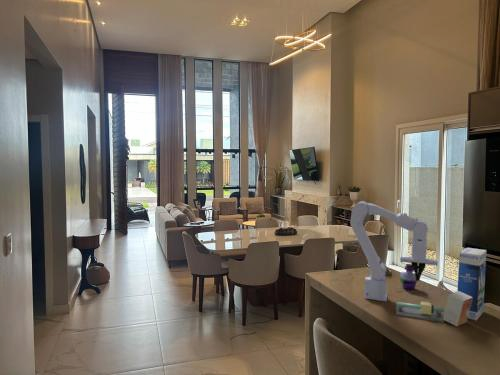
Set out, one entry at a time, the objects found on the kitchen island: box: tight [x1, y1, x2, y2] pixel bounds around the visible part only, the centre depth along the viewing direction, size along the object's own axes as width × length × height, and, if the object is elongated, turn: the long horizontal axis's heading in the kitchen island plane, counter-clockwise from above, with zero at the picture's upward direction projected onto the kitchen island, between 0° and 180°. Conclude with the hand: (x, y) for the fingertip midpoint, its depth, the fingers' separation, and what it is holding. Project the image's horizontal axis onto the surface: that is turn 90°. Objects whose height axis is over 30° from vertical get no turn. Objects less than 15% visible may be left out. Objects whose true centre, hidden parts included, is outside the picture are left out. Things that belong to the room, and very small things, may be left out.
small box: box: [443, 291, 473, 328], centre depth 138 cm, size 8×6×10 cm
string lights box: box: [456, 247, 487, 321], centre depth 147 cm, size 13×8×26 cm, turn 137°
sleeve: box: [419, 301, 432, 315], centre depth 144 cm, size 4×4×4 cm
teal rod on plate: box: [395, 301, 446, 323], centre depth 145 cm, size 17×8×5 cm, turn 69°
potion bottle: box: [399, 263, 418, 291], centre depth 176 cm, size 9×9×12 cm
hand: (417, 280), depth 157 cm, fingers closed
